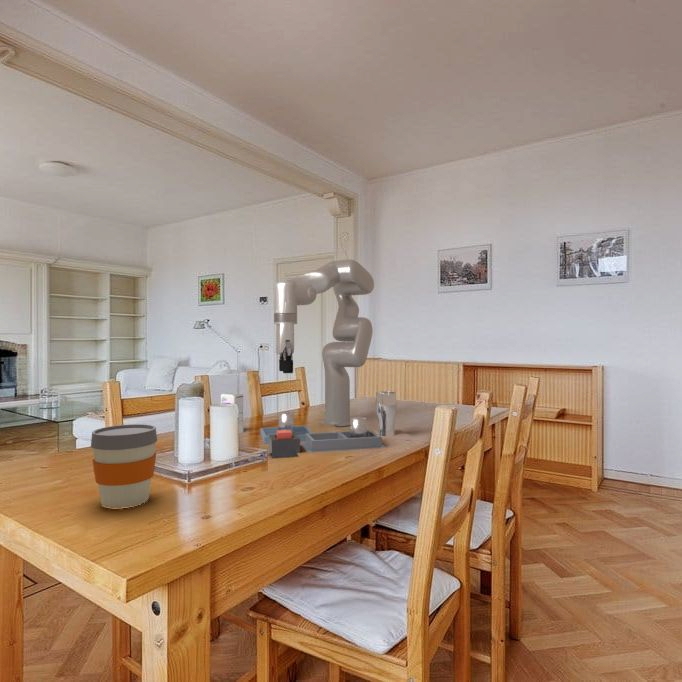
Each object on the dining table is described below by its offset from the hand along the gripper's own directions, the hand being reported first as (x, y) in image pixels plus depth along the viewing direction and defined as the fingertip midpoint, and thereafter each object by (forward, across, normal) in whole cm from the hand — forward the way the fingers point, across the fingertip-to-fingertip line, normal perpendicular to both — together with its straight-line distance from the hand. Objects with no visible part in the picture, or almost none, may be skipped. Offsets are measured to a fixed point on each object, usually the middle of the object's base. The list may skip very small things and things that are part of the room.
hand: (285, 372), depth 158 cm
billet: (+21, 0, 0) cm, 21 cm away
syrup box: (+23, -12, -17) cm, 31 cm away
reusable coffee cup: (+23, +50, -40) cm, 68 cm away
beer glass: (+22, +4, +33) cm, 40 cm away
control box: (+22, +18, -3) cm, 29 cm away
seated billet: (+21, +16, +20) cm, 33 cm away
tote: (+22, 0, 0) cm, 22 cm away
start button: (+19, +18, -3) cm, 26 cm away
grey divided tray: (+22, +16, +15) cm, 31 cm away
